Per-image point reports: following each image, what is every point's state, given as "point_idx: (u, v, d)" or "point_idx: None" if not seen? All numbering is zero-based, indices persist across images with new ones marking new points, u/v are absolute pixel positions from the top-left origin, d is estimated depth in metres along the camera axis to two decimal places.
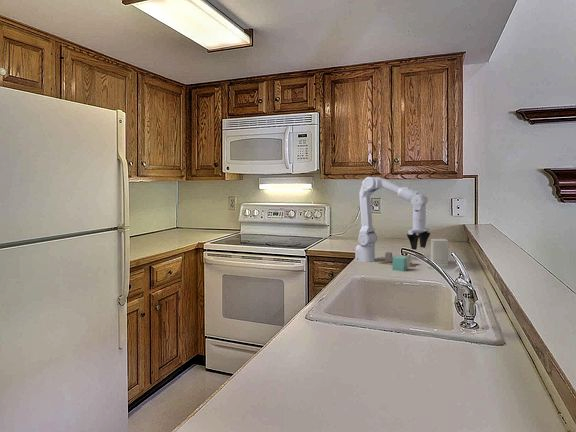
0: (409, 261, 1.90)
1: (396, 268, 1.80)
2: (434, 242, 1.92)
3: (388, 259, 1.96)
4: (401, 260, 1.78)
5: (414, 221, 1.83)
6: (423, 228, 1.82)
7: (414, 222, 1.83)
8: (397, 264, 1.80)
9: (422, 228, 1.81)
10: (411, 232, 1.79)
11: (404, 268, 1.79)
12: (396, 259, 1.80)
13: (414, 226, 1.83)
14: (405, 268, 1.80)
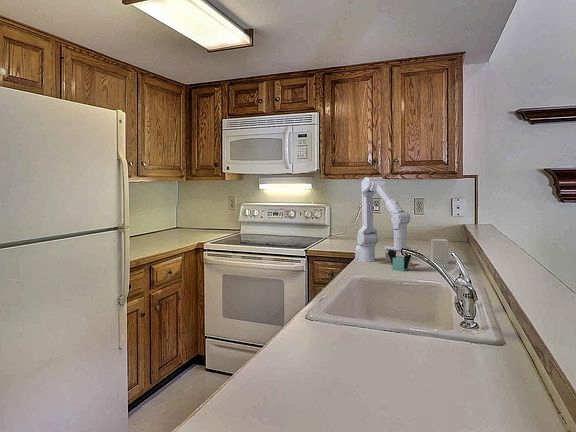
0: (409, 261, 1.90)
1: (396, 268, 1.80)
2: (434, 242, 1.92)
3: (388, 259, 1.96)
4: (401, 260, 1.78)
5: None
6: (396, 247, 1.79)
7: None
8: (397, 264, 1.80)
9: (395, 247, 1.79)
10: None
11: (404, 268, 1.79)
12: (396, 259, 1.80)
13: None
14: None
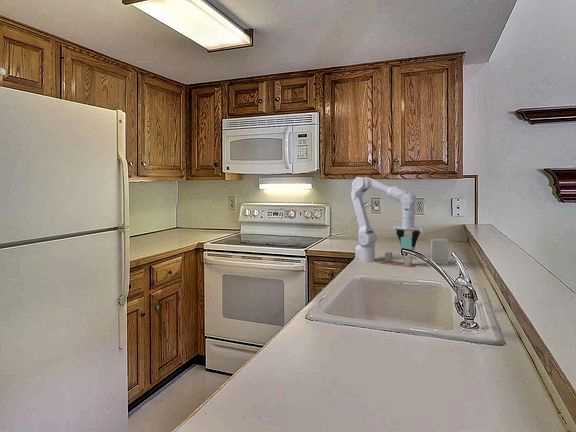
0: (409, 261, 1.90)
1: (404, 247, 1.88)
2: (434, 242, 1.92)
3: (388, 259, 1.96)
4: (409, 239, 1.86)
5: None
6: (404, 226, 1.87)
7: None
8: (405, 243, 1.87)
9: (403, 226, 1.87)
10: (393, 228, 1.93)
11: (412, 247, 1.87)
12: (404, 238, 1.87)
13: None
14: (413, 247, 1.88)
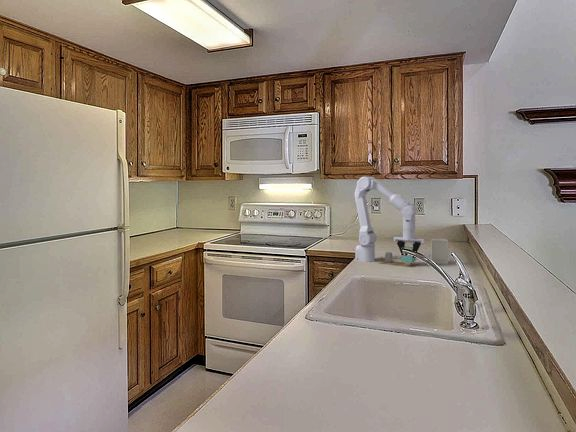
0: None
1: (405, 258, 1.89)
2: (434, 242, 1.92)
3: (388, 259, 1.96)
4: None
5: None
6: (405, 237, 1.88)
7: None
8: None
9: (404, 237, 1.89)
10: (394, 239, 1.94)
11: (412, 258, 1.88)
12: None
13: None
14: (413, 258, 1.89)
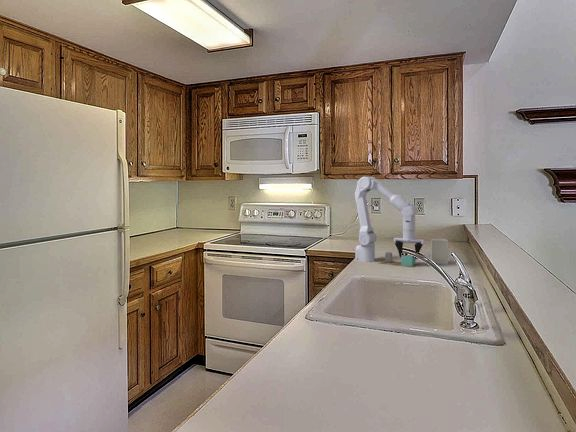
0: None
1: (405, 261, 1.90)
2: (434, 242, 1.92)
3: (388, 259, 1.96)
4: None
5: None
6: (405, 238, 1.88)
7: None
8: (406, 258, 1.89)
9: (404, 238, 1.89)
10: (394, 239, 1.94)
11: (412, 261, 1.89)
12: None
13: None
14: (413, 261, 1.90)
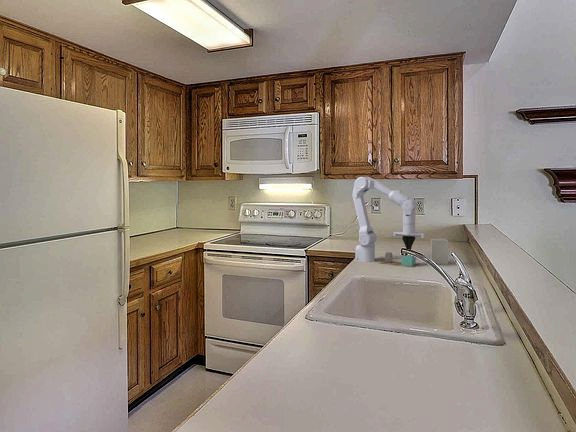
0: None
1: (405, 261, 1.90)
2: (434, 242, 1.92)
3: (388, 259, 1.96)
4: None
5: None
6: (405, 232, 1.88)
7: None
8: (406, 258, 1.89)
9: (404, 232, 1.89)
10: (394, 233, 1.94)
11: (412, 261, 1.89)
12: None
13: None
14: (413, 261, 1.90)
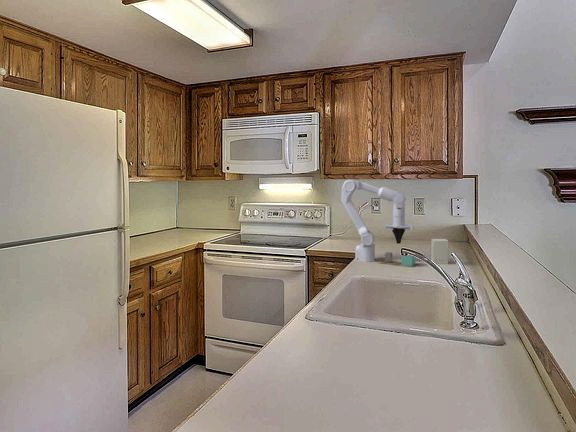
0: None
1: (405, 261, 1.90)
2: (434, 242, 1.92)
3: (388, 259, 1.96)
4: None
5: None
6: (395, 224, 1.96)
7: None
8: (406, 258, 1.89)
9: (394, 224, 1.96)
10: None
11: (412, 261, 1.89)
12: None
13: None
14: (413, 261, 1.90)
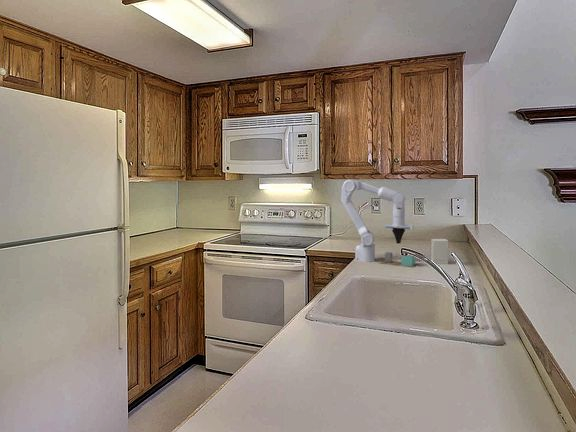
0: None
1: (405, 261, 1.90)
2: (434, 242, 1.92)
3: (388, 259, 1.96)
4: None
5: None
6: (395, 224, 1.96)
7: None
8: (406, 258, 1.89)
9: (394, 224, 1.97)
10: None
11: (412, 261, 1.89)
12: None
13: None
14: (413, 261, 1.90)
